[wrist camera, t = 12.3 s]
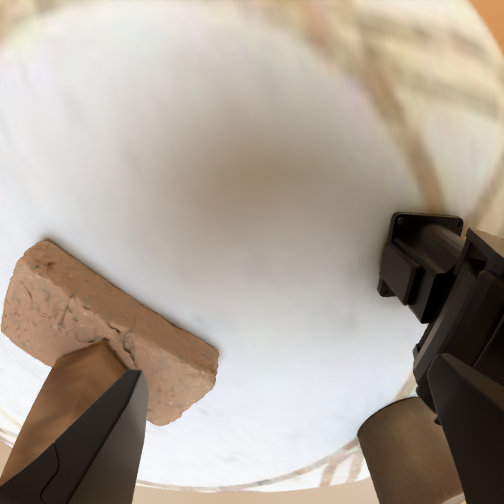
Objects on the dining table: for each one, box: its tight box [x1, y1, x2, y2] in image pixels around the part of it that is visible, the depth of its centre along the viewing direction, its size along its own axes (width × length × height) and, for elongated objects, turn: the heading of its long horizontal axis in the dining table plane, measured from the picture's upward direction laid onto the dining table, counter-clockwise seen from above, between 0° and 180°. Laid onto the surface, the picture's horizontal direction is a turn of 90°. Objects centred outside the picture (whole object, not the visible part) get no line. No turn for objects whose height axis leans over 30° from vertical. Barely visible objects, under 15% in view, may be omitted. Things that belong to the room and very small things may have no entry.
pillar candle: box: [357, 398, 465, 504], centre depth 24 cm, size 10×10×15 cm
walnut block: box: [0, 343, 126, 486], centre depth 14 cm, size 5×5×12 cm
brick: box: [1, 241, 219, 426], centre depth 21 cm, size 17×8×5 cm, turn 51°
